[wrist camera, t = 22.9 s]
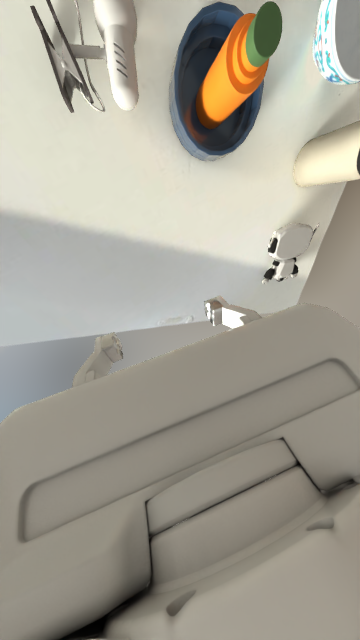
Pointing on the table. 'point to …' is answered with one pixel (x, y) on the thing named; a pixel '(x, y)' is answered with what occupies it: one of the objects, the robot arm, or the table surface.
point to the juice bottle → (239, 65)
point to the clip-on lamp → (99, 53)
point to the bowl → (188, 76)
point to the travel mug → (330, 158)
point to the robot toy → (287, 250)
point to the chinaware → (338, 41)
